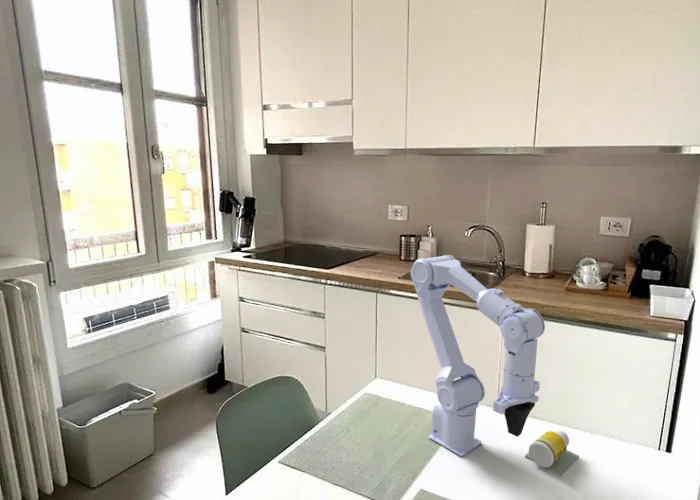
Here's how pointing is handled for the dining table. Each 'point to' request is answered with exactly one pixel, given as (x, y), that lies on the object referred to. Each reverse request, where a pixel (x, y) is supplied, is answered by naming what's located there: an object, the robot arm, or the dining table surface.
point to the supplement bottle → (549, 447)
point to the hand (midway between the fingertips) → (514, 433)
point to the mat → (561, 462)
